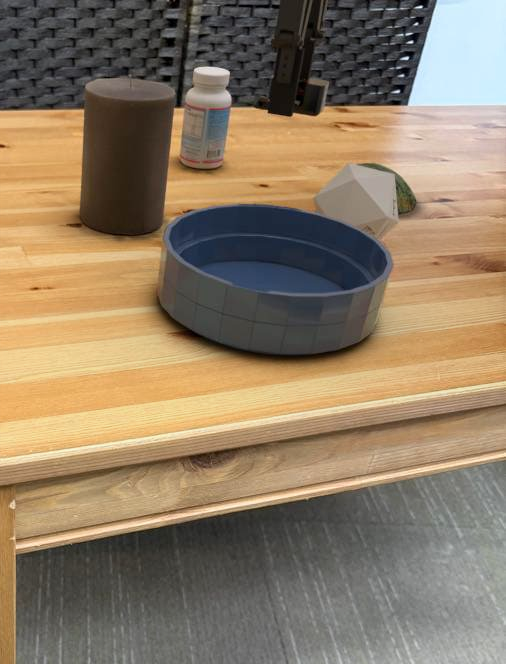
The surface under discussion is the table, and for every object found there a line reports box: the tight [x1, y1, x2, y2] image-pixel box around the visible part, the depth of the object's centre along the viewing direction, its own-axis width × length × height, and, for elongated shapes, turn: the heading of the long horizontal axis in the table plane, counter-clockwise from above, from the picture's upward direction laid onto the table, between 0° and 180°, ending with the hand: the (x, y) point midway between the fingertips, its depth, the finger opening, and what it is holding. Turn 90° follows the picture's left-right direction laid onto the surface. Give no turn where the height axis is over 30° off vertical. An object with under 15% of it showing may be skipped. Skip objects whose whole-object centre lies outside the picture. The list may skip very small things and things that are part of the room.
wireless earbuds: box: [252, 74, 330, 117], centre depth 92 cm, size 5×7×3 cm, turn 64°
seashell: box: [356, 162, 417, 214], centre depth 103 cm, size 10×4×10 cm
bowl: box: [156, 203, 395, 356], centre depth 78 cm, size 21×21×6 cm
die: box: [313, 162, 399, 242], centre depth 90 cm, size 8×9×10 cm
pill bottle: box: [179, 66, 232, 170], centre depth 108 cm, size 6×6×11 cm
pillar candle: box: [79, 74, 176, 236], centre depth 89 cm, size 10×10×15 cm
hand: (286, 108), depth 93 cm, fingers closed on wireless earbuds, 4 cm apart
